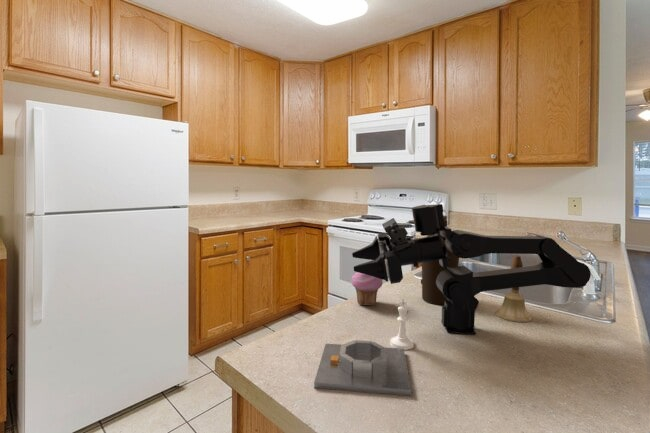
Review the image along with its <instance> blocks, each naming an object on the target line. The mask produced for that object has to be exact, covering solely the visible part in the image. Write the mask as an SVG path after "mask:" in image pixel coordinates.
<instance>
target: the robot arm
mask: <svg viewBox="0 0 650 433" xmlns="http://www.w3.org/2000/svg"><path fill="white" fill-rule="evenodd" d="M411 213H412V218H413V224H414V231H415V232H416V233H420V234H419V235H420V236H423V237H419V238H412V237H411V236H409V235H408V234H409V232H408V231H407V228H405V226H403V225H402V226H399V224H398V223H397V221H396V218H394V217H393V218H390V219H389V220H387V221H384V223H381V225H382V227H383V229H384V231H385V232H383V233H381V232H380V233H378V234H377V236H375V237H374V239H373V240H372V243H370V244H368V245H367V246H364V247H363V248H360V249H358V250H356V251H354V252H352V253H351V256H352V258H355V259H361V260H370V261H366V262H363V263H359V264H357V265H354V266H353V271H354V272H355V273H357V272H359V273H362V274H366V275H370V276H373V277H376V278H380V279H382V281H385V282H390V285H393V284H399V283H401V281H402V280H403V279H404V274H403V269H402V267H404V266H413V268H416V267H419V264H422V263H423V262H429V261H435V260H439V264H440V265H441V266H442V267H443V268H446V267H447V265H448V263H449V262H450V261H451V260H452V259H451V258H450V257H448V256H447V251H446V248H447V249H448V250H449V251H450V252H451V253H453V254H454V255H456V256H457V257H459V259H471V258H479V257H481V256H482V257H483V256H485V255H490V254H504V255H505V254H510V255H513V254H515V255H537V256H538V258H539V259H540V261H541V262H540V263H538V264H536V265H529V266H528V265H527V266H523V267H519V268H511V267H510V268H504V269H503V268H501V269H495V270H488V271H487V270H486V271H478V272H477V271H476V272H473V271H472V270H471V269H470V268H468V267H467V266H466V265H458V267H455V268H450V267H447V269H448V270H444V271H441V272H440V274H439V275H438V276H437V279H436V284H437V287H438V288H439V290H440V291H441V292H442V293H443V294H444V296H445V297H446V298H447V299H448V300H445V302H444V305H442V307H441V322H440V323H441V325H442V326H443V328H444V329H445V331H446V332H447V333H449V334H463V335H477V330H476V329H475V318H476V317H475V316H476V314H475V313H476V310H477V308H478V307H479V304H480V301H479V300H478V299H477V297H476V296H477V295H478V294H480V293H482V292H489V291H490V292H491V291H499V290H507V289H511V288H517V287H519V288H525V287H534V286H541V285H542V286H543V285H546V286H547V285H548V286H553V287H554V286H555V287H559V288H567V289H580V288H584V287H585V286H587V283H589V281H590V280H591V276H592V275H591V274H592V273H591V269H590V268H589V266H588V265H586V264H585V263H583V262H581V261H578V259H576V257H575V256H573V255H572V254H571V253H569V252H568V251H566V250H565V249H564V248H562V246H560V244H559V243H558V242H556V240H555V239H553V238H551V237H547V236H545V235H535V236H530V235H529V236H528V235H520V236H519V235H485V234H479V233H475V232H473V231H466V230H465V231H464V230H461V229H455V230H454V229H453V230H452V229H451V228H450V227H448V226H447V227H446V226H445V224H444V217H443V215H444V207H443V204H441V203H437V204H436V203H435V204H428V205H426V204H421V205H416V206H412V207H411ZM434 234H435V236H430V237H427V236H428V235H434ZM440 236H441V237H442V238H443V239H444V240H445V244H443V243H442V242H441V237H440Z"/></svg>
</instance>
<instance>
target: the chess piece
mask: <svg viewBox="0 0 650 433" xmlns="http://www.w3.org/2000/svg"><path fill="white" fill-rule="evenodd" d="M398 305H401V306H399V307H397V311H398V315H399V316H398V317H397V321H398V322H399V327H398V334H397V335H395V336H392V337H391V338H390V342H389V344H390V346H391V347H392V348H401V349H404V351H407V350H411V349H413V348H414V346H415V345H414V340H412V338H410V337H408V336H407V333H406V324H405V323H406V322H407V321H408V320H409V319H408V317H406V316H407V312H408V307H406V305H408V302H407V301H405V299H404V298H401V301H398Z"/></svg>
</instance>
